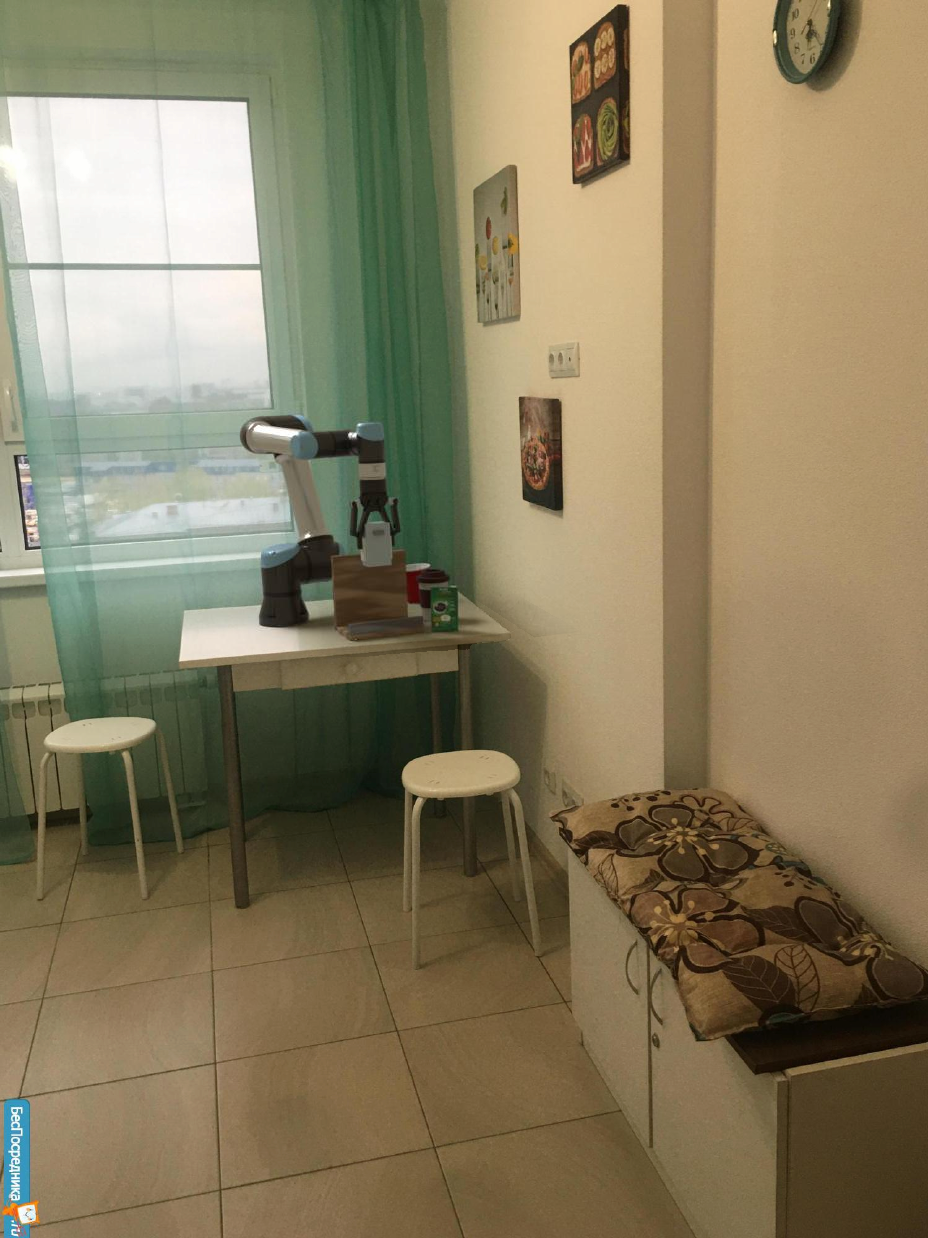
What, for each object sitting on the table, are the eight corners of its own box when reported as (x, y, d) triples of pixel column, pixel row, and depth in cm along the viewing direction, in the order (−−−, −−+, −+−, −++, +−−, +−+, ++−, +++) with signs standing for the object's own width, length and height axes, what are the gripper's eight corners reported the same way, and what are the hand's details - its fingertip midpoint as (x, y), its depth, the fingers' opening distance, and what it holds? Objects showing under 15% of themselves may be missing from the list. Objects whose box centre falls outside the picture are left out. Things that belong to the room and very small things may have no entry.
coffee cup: (447, 623, 324) (445, 573, 321) (414, 622, 326) (412, 573, 323) (454, 616, 333) (452, 567, 330) (422, 616, 335) (420, 567, 332)
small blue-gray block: (362, 564, 312) (360, 522, 310) (385, 562, 315) (383, 521, 312) (369, 567, 307) (367, 524, 304) (392, 565, 309) (390, 523, 307)
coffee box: (459, 629, 315) (458, 584, 313) (459, 631, 312) (457, 586, 310) (431, 629, 316) (430, 585, 313) (431, 632, 313) (429, 587, 310)
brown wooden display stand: (335, 630, 318) (330, 555, 314) (405, 622, 327) (402, 549, 322) (350, 640, 305) (346, 562, 300) (423, 631, 313) (421, 555, 309)
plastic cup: (395, 600, 362) (393, 564, 360) (426, 597, 365) (425, 562, 363) (403, 606, 352) (401, 569, 349) (435, 603, 355) (434, 566, 353)
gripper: (342, 481, 299) (347, 564, 304) (410, 476, 307) (414, 557, 311) (334, 479, 306) (339, 560, 310) (401, 475, 313) (405, 554, 318)
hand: (376, 559), depth 311 cm, fingers closed on small blue-gray block, 7 cm apart
